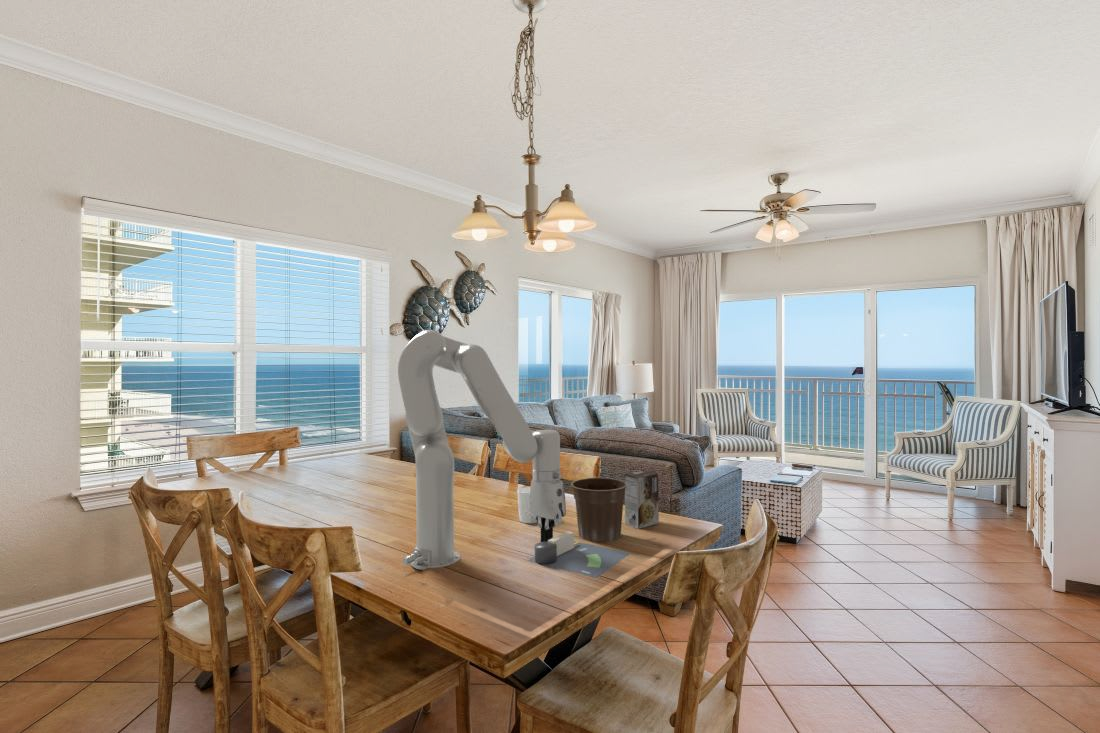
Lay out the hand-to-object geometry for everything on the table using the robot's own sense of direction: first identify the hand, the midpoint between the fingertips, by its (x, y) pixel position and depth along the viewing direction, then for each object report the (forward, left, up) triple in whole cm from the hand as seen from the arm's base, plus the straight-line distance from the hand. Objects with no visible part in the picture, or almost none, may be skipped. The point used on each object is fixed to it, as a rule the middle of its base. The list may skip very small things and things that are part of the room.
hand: (546, 542), depth 149 cm
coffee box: (+36, -12, -3) cm, 38 cm away
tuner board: (-1, -11, -2) cm, 12 cm away
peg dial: (-3, -6, -1) cm, 6 cm away
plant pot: (+17, -7, -3) cm, 18 cm away
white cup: (+20, +20, -3) cm, 28 cm away
